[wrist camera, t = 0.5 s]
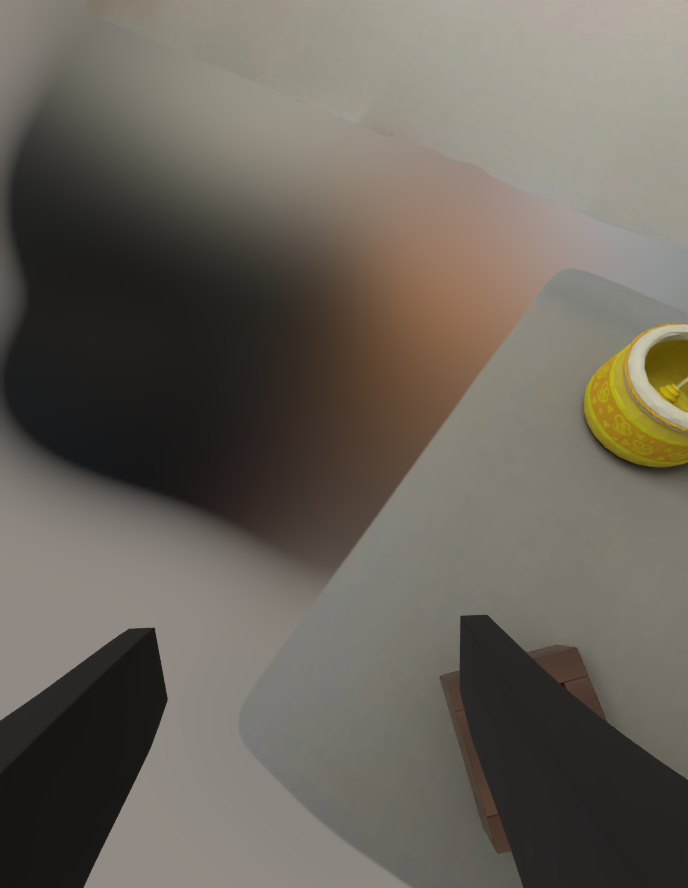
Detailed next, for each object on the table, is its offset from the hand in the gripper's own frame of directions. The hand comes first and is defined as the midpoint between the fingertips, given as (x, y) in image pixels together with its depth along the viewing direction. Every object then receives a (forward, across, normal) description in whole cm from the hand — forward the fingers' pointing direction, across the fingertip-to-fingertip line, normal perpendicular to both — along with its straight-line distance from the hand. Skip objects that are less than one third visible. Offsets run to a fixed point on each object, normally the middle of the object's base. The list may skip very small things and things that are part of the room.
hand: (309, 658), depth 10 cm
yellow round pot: (+31, -28, +1) cm, 42 cm away
